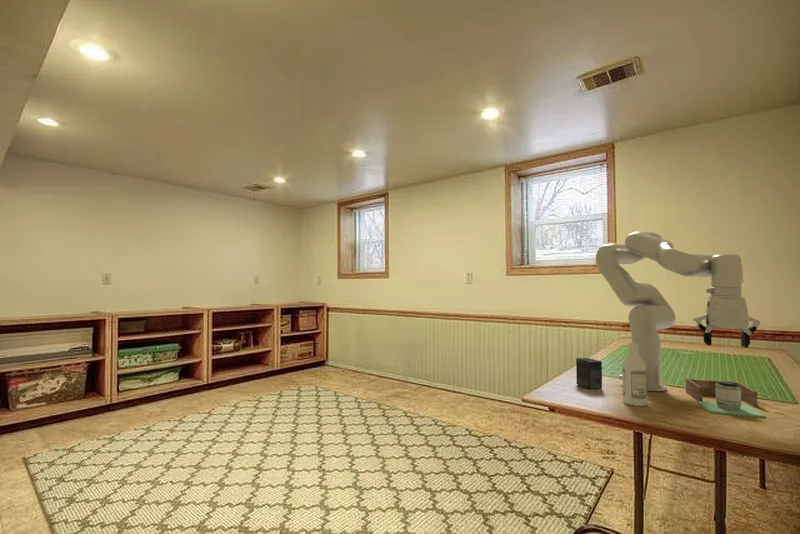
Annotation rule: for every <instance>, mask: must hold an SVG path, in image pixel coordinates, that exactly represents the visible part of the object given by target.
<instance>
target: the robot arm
mask: <svg viewBox="0 0 800 534" xmlns="http://www.w3.org/2000/svg"><path fill="white" fill-rule="evenodd" d="M645 259H649V260H652V261H654V262H657V264H658V265H659V266H660V267H662V268H663V269H666V270H667V271H670V272H672V273H675V274H678V275H680V276H683V277H690V278H691V277H695V278H696V277H699V278H707V277H711V278H710V279H711V281H710V283H711V286H710V288H706V289H705V291H706V294H710V295H711V296H709V297H708V300H707V303H706V310H705V313H704V314H701V315H700V316H697V317H694V318H693V322H694V323H695V325H696V326H697V328H698V329H699V330H700V331H701V332H703V343H705V344H704V345H706V346H710V347H711V346H712V333H711V332H712V330H713V329H714V328H716V329H731V330H740V331H741V332H742V333H741V334H740V346H741V347H743V348H746V349H748V348H749V346H750V345H751V335H752V334H753V333H754V332H756V331H757V330H758V327H759V326H760V325H761V321H760V320H758V319H755V318H753V317H751V316H749V311H748V305H747V300H746V298H745V297H742V257H741V256H740V255H739V254H736V253H733V254H732V253H728V254H727V253H722V254H714V255H711V254H699V253H698V254H696V253H694V254H693V253H692V254H691V253H687V252H684V251H680V250H677V249H675V247H674V244H673V243H672V242H671V241H670V240H667V239H664V238H663V237H662V236H661V235H660V234H658V233H656V232H649V231H633V232H632V233H629V234H628V235H627V236H626V238H625V240H624V243H608V244H607V243H606V244H603V245H601V246H600V247H599V248H598V249H597V252H596V255H595V264H596V267H597V269H598V272H600V274H601V275H602V277H603V278H604V279H605V280H606V281H607V283H608V284H609V287H610V288H611V290H612V291H613V292H614V294H615V295H616V297H617V298H618V300H619V301H620V303H621V304H622V305H624V306H626V307H632V308H631V309H630V311H629V312H628V323H629V326H630V327H629V328H630V332H631V333H630V334H631V343H638V344H639V355H640V357H641V358H642V359H643V361H644V363H645V365H646V371H647V392H648V391H649V392H664V391H667V386H666V385H665V384H663V383H662V344H661V337H660V335H659V332H658V330H666V329H669V328H672V326H674V324H675V322H676V314H675V312H674V309H673V308H672V306H671V305H670V304H669V303H668V301H667V300H666V298H665V297H664V296H663V294H662V293H661V292H660V291H659V289H658V288H656V287H655V285H652V284H650V283H646V282H645V283H644V282H637V281H635V279H634V278H632V276H631V275H630V273H629V271H627V270H626V269H625V268H624V267H622V266H621V265H632V264H635V263H636V264H637V263H638V262H640V261H643V260H645ZM704 320H705V324H706V325H703V323H702V321H704ZM749 322H750V323H751V325H750V323H749ZM749 325H750V326H749ZM618 379H619V380H620V381H623V374H618Z"/></svg>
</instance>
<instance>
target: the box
mask: <svg viewBox="0 0 800 534" xmlns="http://www.w3.org/2000/svg"><path fill="white" fill-rule="evenodd" d="M575 363H576V365H575V366H576V369H575V370H576V376H575V377H576V385H577V384H578V385H577V386H579V385H581V386H583V387H582V388H584V387H585V388H584V389H587V388H588V389H587V390H589V389H596V390H601V389H600V388H602V389H603V365H602V363H603V362H602V361H601V360H598V359H594V358H589V357H577V358H576V360H575ZM581 386H580V387H581Z"/></svg>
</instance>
